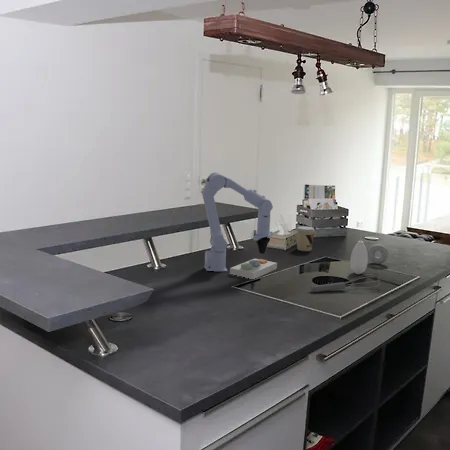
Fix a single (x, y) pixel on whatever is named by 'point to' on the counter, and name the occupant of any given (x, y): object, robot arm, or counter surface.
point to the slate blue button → (254, 263)
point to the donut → (383, 251)
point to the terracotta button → (262, 261)
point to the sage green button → (246, 266)
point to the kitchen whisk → (338, 286)
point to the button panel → (254, 270)
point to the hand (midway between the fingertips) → (262, 253)
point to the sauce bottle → (359, 258)
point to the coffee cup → (305, 238)
